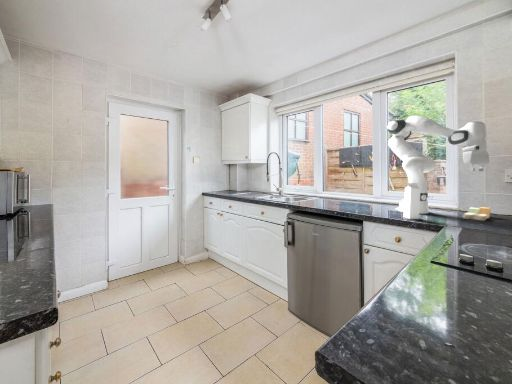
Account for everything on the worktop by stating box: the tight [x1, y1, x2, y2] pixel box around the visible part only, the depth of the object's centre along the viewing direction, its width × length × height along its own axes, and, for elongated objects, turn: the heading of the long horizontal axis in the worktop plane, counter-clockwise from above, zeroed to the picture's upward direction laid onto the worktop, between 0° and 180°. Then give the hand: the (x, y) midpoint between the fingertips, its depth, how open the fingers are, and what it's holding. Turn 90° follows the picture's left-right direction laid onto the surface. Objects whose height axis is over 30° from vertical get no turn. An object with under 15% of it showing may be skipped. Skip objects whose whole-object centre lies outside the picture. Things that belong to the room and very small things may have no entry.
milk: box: [402, 182, 420, 220], centre depth 153 cm, size 6×6×22 cm
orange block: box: [479, 206, 491, 219], centre depth 158 cm, size 4×4×6 cm
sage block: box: [467, 206, 480, 214], centre depth 163 cm, size 5×5×5 cm
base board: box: [462, 212, 488, 221], centre depth 154 cm, size 10×10×2 cm
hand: (476, 171), depth 150 cm, fingers open, 8 cm apart
